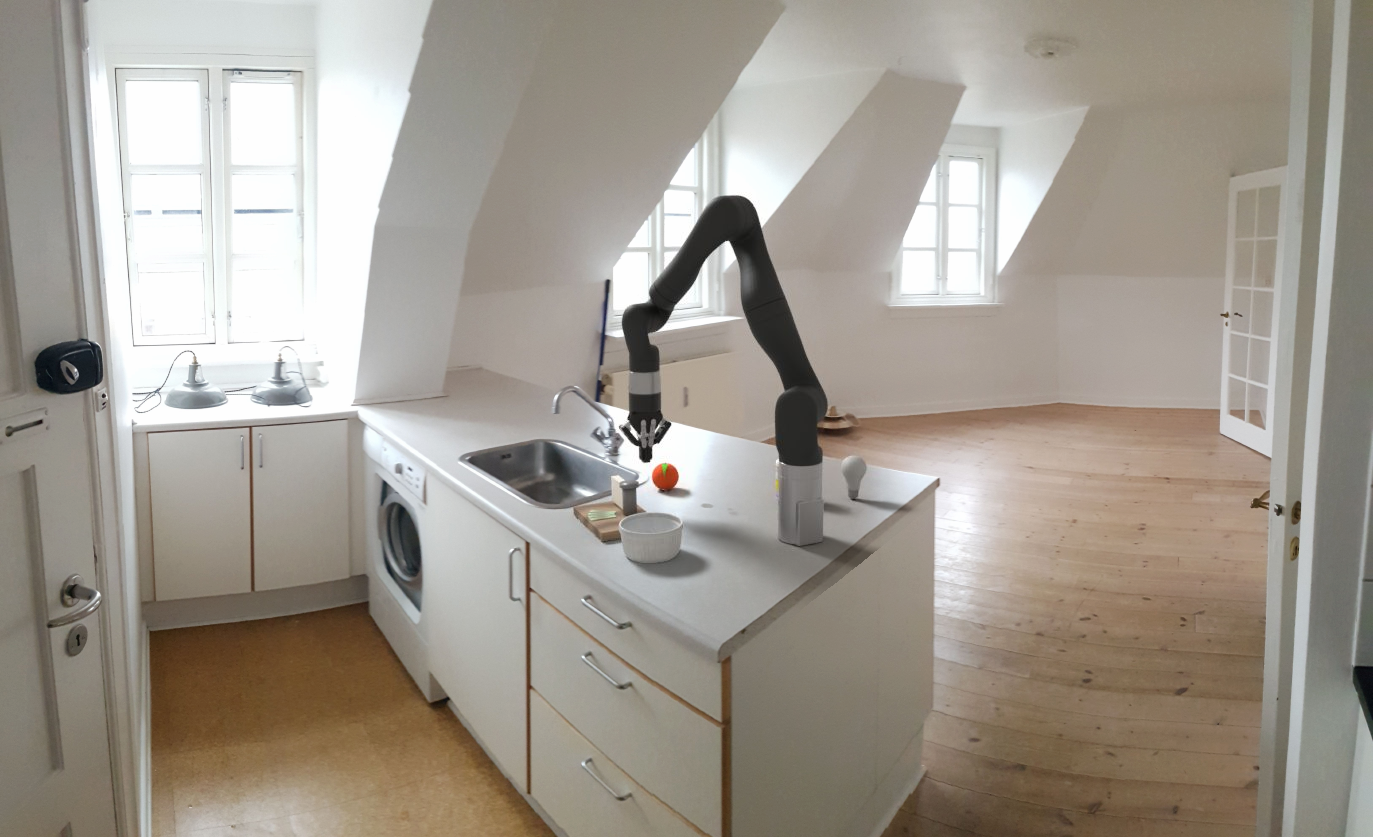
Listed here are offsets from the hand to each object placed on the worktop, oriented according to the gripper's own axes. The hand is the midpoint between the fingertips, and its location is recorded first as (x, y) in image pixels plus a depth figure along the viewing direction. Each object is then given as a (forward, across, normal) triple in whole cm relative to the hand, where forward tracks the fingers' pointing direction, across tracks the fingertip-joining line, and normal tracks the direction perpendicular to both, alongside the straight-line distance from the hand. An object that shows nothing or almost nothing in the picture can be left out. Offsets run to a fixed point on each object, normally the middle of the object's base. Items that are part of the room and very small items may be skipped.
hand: (645, 461), depth 204 cm
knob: (+10, -7, -3) cm, 12 cm away
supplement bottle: (+12, +34, -9) cm, 37 cm away
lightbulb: (+12, +48, -16) cm, 52 cm away
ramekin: (+12, -10, -27) cm, 31 cm away
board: (+12, -10, -6) cm, 16 cm away
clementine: (+12, +10, +12) cm, 20 cm away
